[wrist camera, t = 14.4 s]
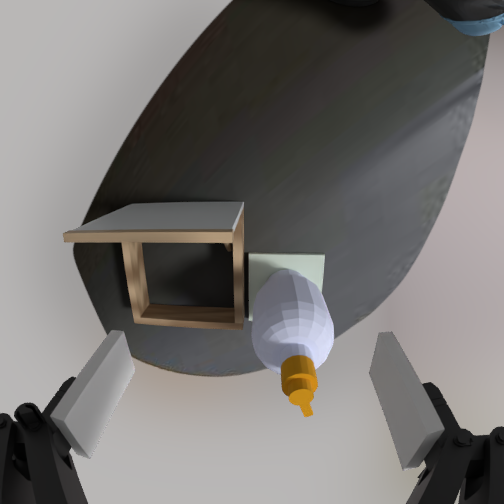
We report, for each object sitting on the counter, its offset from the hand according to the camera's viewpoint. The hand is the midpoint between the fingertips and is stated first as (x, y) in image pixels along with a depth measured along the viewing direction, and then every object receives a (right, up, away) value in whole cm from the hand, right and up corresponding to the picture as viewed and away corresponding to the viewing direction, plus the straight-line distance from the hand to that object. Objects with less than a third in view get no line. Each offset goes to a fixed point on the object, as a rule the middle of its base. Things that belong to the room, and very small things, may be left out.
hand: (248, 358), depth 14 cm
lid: (-10, +13, +31) cm, 35 cm away
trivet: (+6, -1, +35) cm, 36 cm away
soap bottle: (+6, -1, +34) cm, 35 cm away
